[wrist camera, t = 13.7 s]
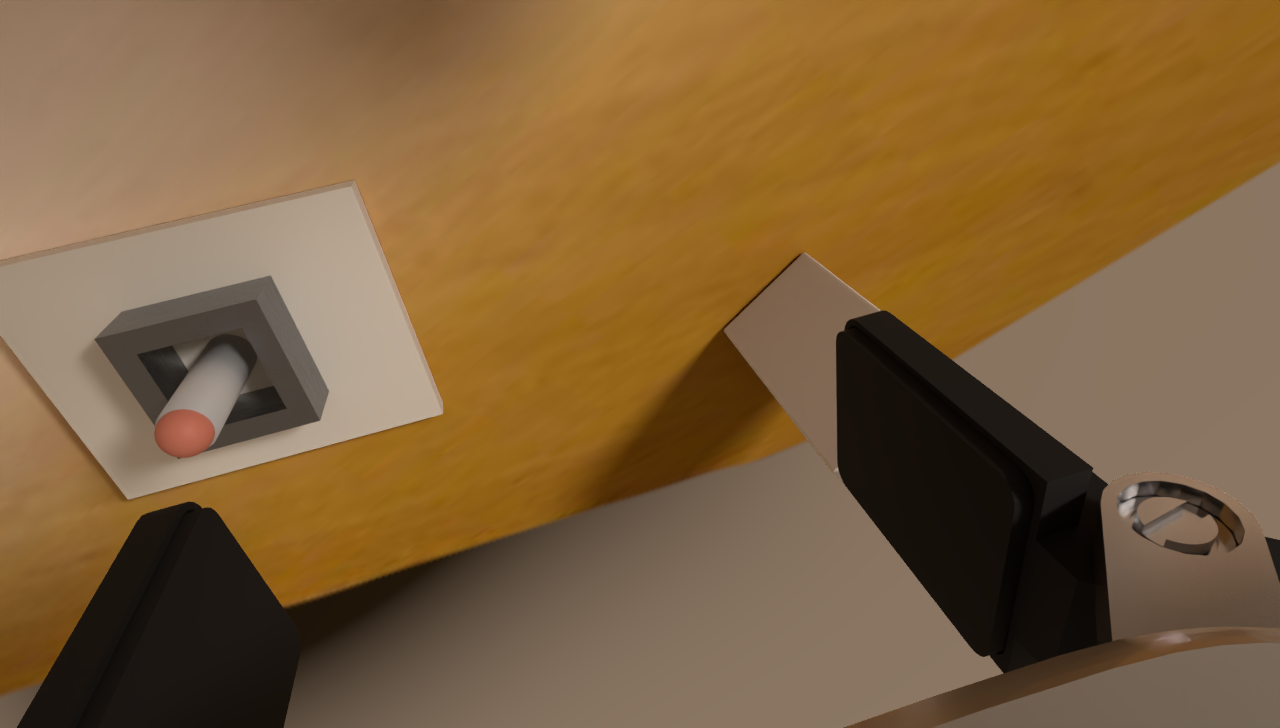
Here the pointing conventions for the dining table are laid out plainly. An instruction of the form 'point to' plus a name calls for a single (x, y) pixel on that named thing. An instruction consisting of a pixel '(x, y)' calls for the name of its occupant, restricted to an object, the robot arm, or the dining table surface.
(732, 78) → the dining table surface
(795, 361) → the milk carton
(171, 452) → the white peg stand
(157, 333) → the grey square socket block
